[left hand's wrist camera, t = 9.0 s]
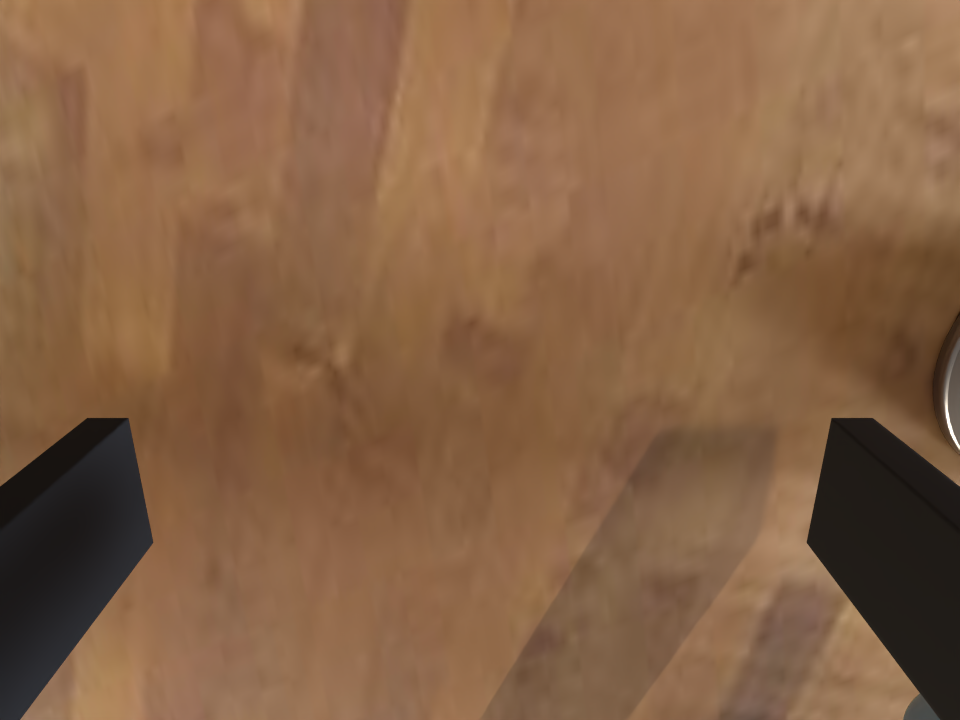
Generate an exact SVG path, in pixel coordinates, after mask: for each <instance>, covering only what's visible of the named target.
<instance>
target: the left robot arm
mask: <svg viewBox="0 0 960 720" xmlns="http://www.w3.org/2000/svg"><path fill="white" fill-rule="evenodd" d="M933 401H934V409H935V413H936V418H937V421H938V423H939V426H940V428H941V430H942V432H943V434H944V436H945V438H946V439H947V441H948V442H949V444H950V445H951V446H952V447H953V448H954V450H955V451H956V452H957V453H958V454H959V455H960V315H959V317H958V318H957V320H956V321H955V323H954V324H953V326H952V328H951V330H950V331H949V333H948V335H947V337H946V339H945V342H944V344H943V346H942V348H941V351H940V354H939V357H938V360H937V364H936V369H935V373H934V382H933ZM152 544H153V539H152V534H151V529H150V524H149V519H148V514H147V509H146V504H145V499H144V494H143V489H142V484H141V479H140V474H139V469H138V464H137V459H136V454H135V449H134V444H133V439H132V434H131V429H130V424H129V419H128V418H87V419H86V420H84V421H83V422H82V423H80V424H79V425H78V426H77V427H75V428H74V429H73V430H72V431H70V432H69V433H68V434H67V435H65V436H64V437H63V438H61V439H60V440H59V441H58V442H56V443H55V444H54V445H53V446H51V447H50V448H49V449H47V450H46V451H45V452H44V453H42V454H41V455H40V456H39V457H37V458H36V459H35V460H34V461H32V462H31V463H30V464H28V465H27V466H26V467H25V468H23V469H22V470H21V471H20V472H18V473H17V474H16V475H15V476H13V477H12V478H11V479H9V480H8V481H7V482H6V483H4V484H3V485H2V486H1V487H0V720H20V719H21V718H22V716H23V715H24V714H25V712H26V711H27V710H28V708H29V707H30V706H31V704H32V703H33V702H34V700H35V699H36V698H37V696H38V695H39V694H40V692H41V691H42V690H43V688H44V687H45V686H46V684H47V683H48V682H49V680H50V679H51V678H52V677H53V675H54V674H55V673H56V671H57V670H58V669H59V667H60V666H61V665H62V663H63V662H64V661H65V659H66V658H67V657H68V655H69V654H70V653H71V651H72V650H73V649H74V647H75V646H76V645H77V643H78V642H79V641H80V639H81V638H82V637H83V635H84V634H85V633H86V631H87V630H88V629H89V627H90V626H91V625H92V623H93V622H94V621H95V619H96V618H97V617H98V615H99V614H100V613H101V611H102V610H103V609H104V607H105V606H106V605H107V603H108V602H109V601H110V599H111V598H112V597H113V595H114V594H115V593H116V591H117V590H118V589H119V588H120V586H121V585H122V584H123V582H124V581H125V580H126V578H127V577H128V576H129V574H130V573H131V572H132V570H133V569H134V568H135V566H136V565H137V564H138V562H139V561H140V560H141V558H142V557H143V556H144V554H145V553H146V552H147V550H148V549H149V548H150V546H151V545H152ZM807 544H808V545H809V546H810V548H811V549H812V550H813V552H814V553H815V554H816V556H817V557H818V558H819V560H820V561H821V562H822V564H823V565H824V566H825V568H826V569H827V570H828V572H829V573H830V574H831V576H832V577H833V578H834V580H835V581H836V582H837V584H838V585H839V586H840V588H841V589H842V590H843V592H844V593H845V594H846V595H847V597H848V598H849V599H850V601H851V602H852V603H853V605H854V606H855V607H856V609H857V610H858V611H859V613H860V614H861V615H862V617H863V618H864V619H865V621H866V622H867V623H868V625H869V626H870V627H871V629H872V630H873V631H874V633H875V634H876V635H877V637H878V638H879V639H880V641H881V642H882V643H883V645H884V646H885V647H886V649H887V650H888V651H889V653H890V654H891V655H892V657H893V658H894V659H895V661H896V662H897V663H898V665H899V666H900V667H901V669H902V670H903V671H904V673H905V674H906V675H907V677H908V678H909V679H910V680H911V682H912V683H913V684H914V686H915V687H916V688H917V690H918V691H919V692H920V694H919V695H918V696H917V697H916V698H915V699H914V700H913V701H912V702H911V703H910V705H909V706H908V708H907V710H906V712H905V715H904V718H903V720H960V487H959V486H958V485H957V484H956V483H954V482H953V481H952V480H951V479H949V478H948V477H947V476H945V475H944V474H943V473H942V472H940V471H939V470H938V469H937V468H935V467H934V466H933V465H932V464H930V463H929V462H928V461H926V460H925V459H924V458H923V457H921V456H920V455H919V454H918V453H916V452H915V451H914V450H913V449H911V448H910V447H909V446H907V445H906V444H905V443H904V442H902V441H901V440H900V439H899V438H897V437H896V436H895V435H893V434H892V433H891V432H890V431H888V430H887V429H886V428H885V427H883V426H882V425H881V424H880V423H878V422H877V421H876V420H874V419H873V418H832V419H831V424H830V429H829V434H828V439H827V444H826V449H825V454H824V459H823V464H822V469H821V474H820V479H819V484H818V489H817V494H816V499H815V504H814V509H813V514H812V519H811V524H810V529H809V534H808V539H807Z"/></svg>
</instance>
